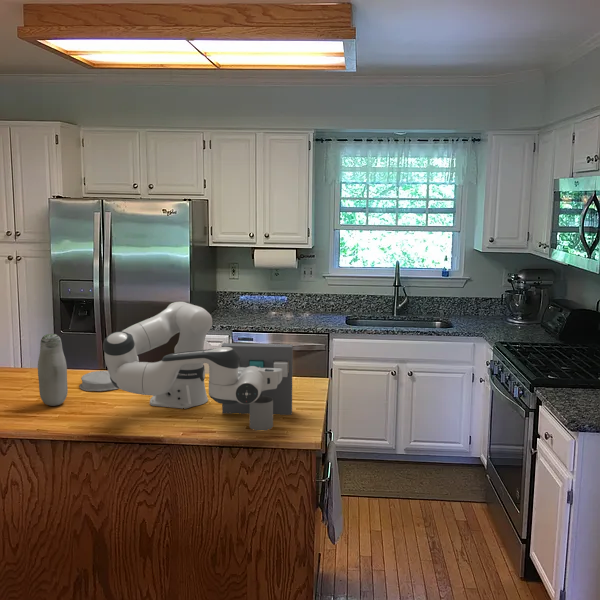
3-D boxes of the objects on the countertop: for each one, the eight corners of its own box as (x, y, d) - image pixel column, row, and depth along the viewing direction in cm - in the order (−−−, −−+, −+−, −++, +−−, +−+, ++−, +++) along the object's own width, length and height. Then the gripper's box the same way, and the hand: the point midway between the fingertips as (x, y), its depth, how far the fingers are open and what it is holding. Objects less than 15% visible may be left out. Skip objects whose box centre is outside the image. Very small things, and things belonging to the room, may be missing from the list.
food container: (92, 378, 283) (91, 363, 282) (135, 379, 280) (134, 364, 279) (70, 392, 264) (69, 377, 262) (116, 394, 261) (115, 378, 260)
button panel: (222, 413, 239) (221, 345, 235) (223, 409, 243) (223, 343, 239) (291, 414, 238) (292, 347, 234) (292, 411, 242) (292, 344, 238)
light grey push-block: (273, 376, 233) (273, 363, 232) (274, 372, 239) (274, 359, 238) (287, 377, 233) (287, 363, 232) (288, 372, 239) (288, 359, 238)
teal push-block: (249, 374, 235) (249, 361, 234) (251, 370, 241) (251, 357, 240) (263, 375, 235) (263, 362, 234) (264, 370, 241) (264, 357, 240)
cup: (249, 422, 230) (249, 395, 229) (272, 421, 231) (272, 395, 229) (249, 431, 222) (249, 403, 220) (273, 430, 223) (273, 403, 221)
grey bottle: (35, 404, 246) (31, 334, 242) (60, 398, 254) (57, 329, 249) (47, 411, 240) (43, 338, 235) (73, 404, 247) (69, 334, 242)
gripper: (222, 387, 222) (228, 376, 235) (281, 389, 221) (283, 377, 235) (222, 370, 221) (228, 359, 234) (281, 371, 220) (283, 360, 233)
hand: (256, 368), depth 234 cm, fingers closed, pressing on teal push-block
